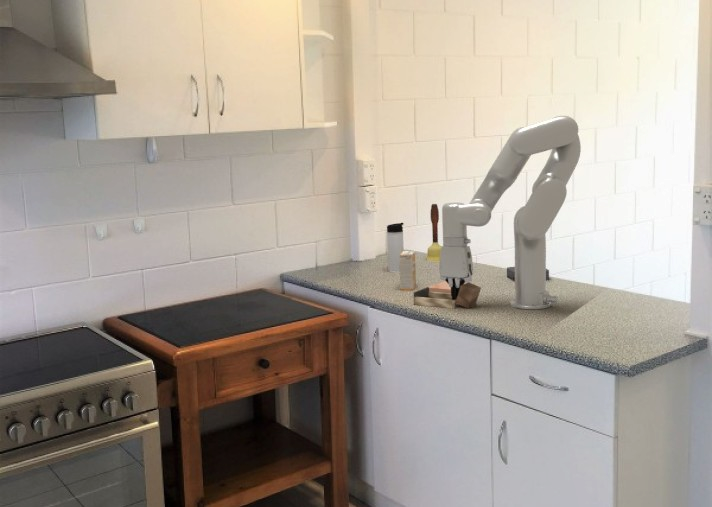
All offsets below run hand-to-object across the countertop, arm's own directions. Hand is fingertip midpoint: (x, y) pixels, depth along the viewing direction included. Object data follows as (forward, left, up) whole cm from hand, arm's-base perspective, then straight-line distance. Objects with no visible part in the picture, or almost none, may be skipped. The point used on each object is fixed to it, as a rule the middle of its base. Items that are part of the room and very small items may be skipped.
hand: (456, 298), depth 255 cm
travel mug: (+46, -39, -2) cm, 61 cm away
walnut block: (-3, 0, -1) cm, 3 cm away
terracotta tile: (+11, -18, -2) cm, 22 cm away
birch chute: (+6, 0, -2) cm, 6 cm away
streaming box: (-5, -46, -3) cm, 46 cm away
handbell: (+42, -64, -2) cm, 77 cm away
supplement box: (+27, -16, -2) cm, 32 cm away
